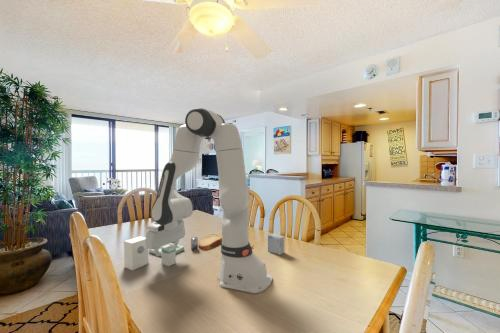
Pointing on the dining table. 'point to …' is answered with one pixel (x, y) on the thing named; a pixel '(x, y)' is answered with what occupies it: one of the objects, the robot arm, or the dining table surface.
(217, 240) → the bread slice
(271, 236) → the medicine box
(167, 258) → the teal band cartridge
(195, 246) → the cylinder
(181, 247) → the tray
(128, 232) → the dining table surface
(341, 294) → the dining table surface
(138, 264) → the cream tall block
